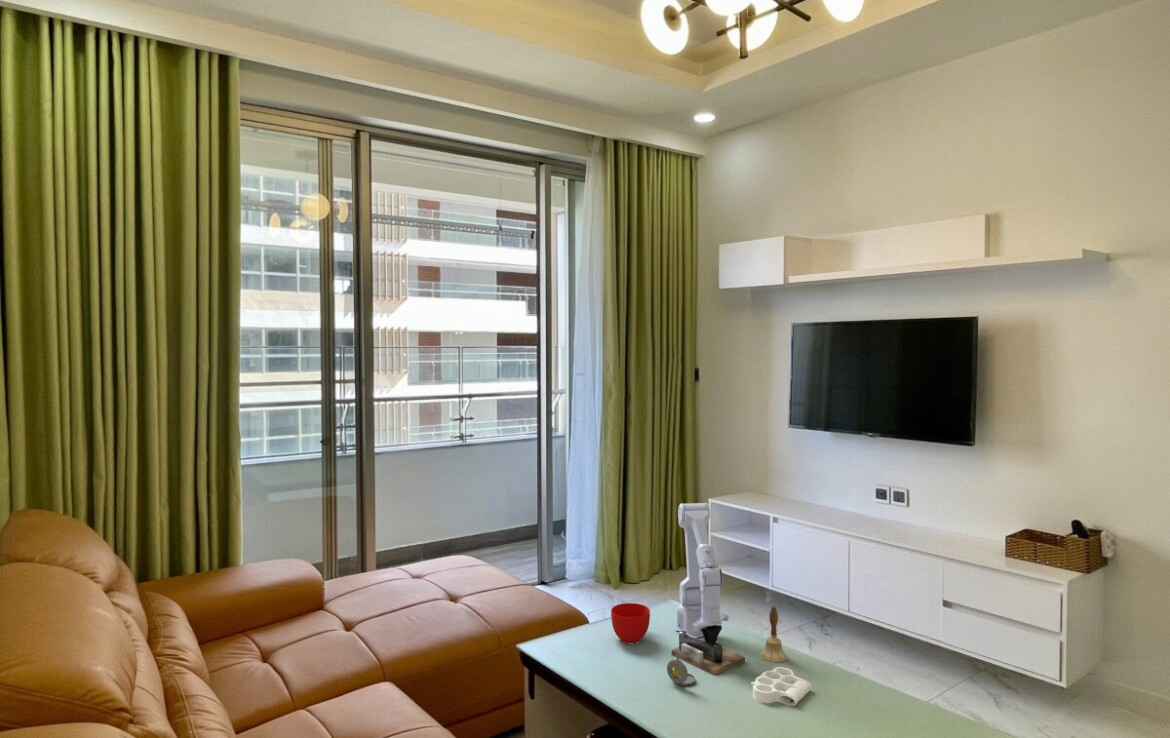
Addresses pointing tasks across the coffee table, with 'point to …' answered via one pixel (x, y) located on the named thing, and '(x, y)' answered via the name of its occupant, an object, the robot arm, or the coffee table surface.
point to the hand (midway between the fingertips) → (710, 647)
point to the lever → (703, 647)
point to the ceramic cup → (630, 621)
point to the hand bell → (773, 642)
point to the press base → (706, 664)
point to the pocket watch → (679, 672)
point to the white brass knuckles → (780, 687)
